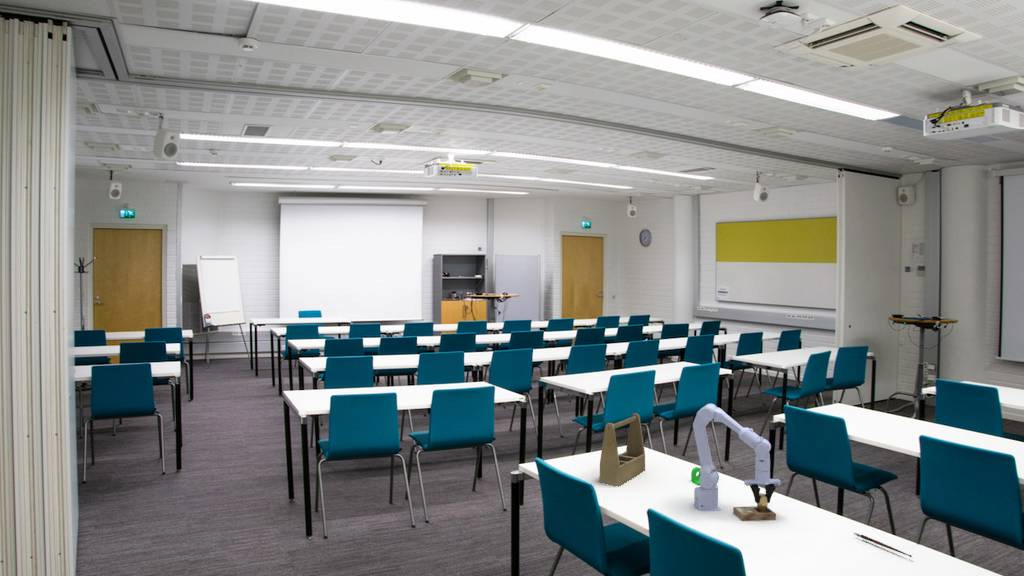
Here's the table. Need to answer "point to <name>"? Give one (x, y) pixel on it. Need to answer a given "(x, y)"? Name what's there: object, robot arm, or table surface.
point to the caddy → (627, 463)
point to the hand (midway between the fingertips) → (762, 502)
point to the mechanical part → (696, 478)
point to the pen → (879, 543)
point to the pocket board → (753, 513)
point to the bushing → (762, 502)
